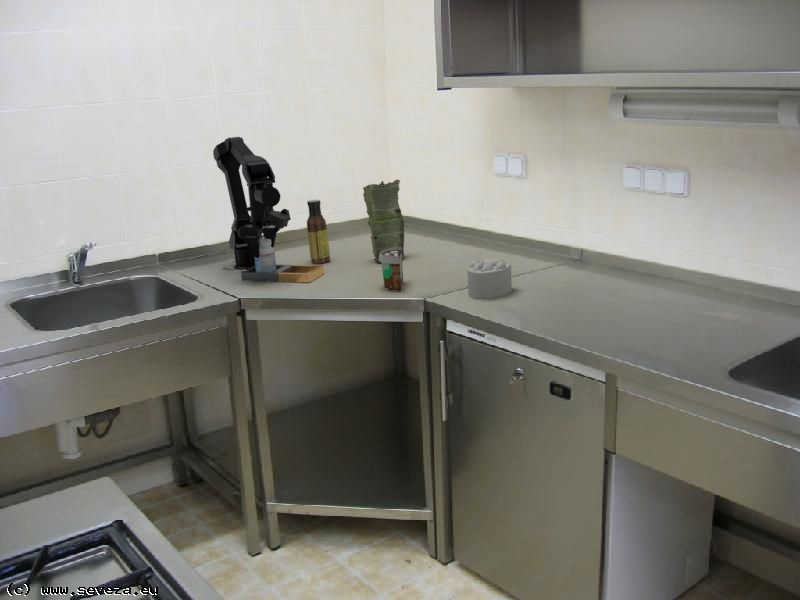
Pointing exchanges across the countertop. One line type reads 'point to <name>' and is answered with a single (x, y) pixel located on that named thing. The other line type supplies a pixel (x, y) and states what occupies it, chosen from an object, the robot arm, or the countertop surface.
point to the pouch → (384, 216)
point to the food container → (392, 268)
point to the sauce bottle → (317, 234)
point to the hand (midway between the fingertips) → (264, 254)
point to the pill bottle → (266, 257)
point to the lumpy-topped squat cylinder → (489, 278)
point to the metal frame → (285, 273)
